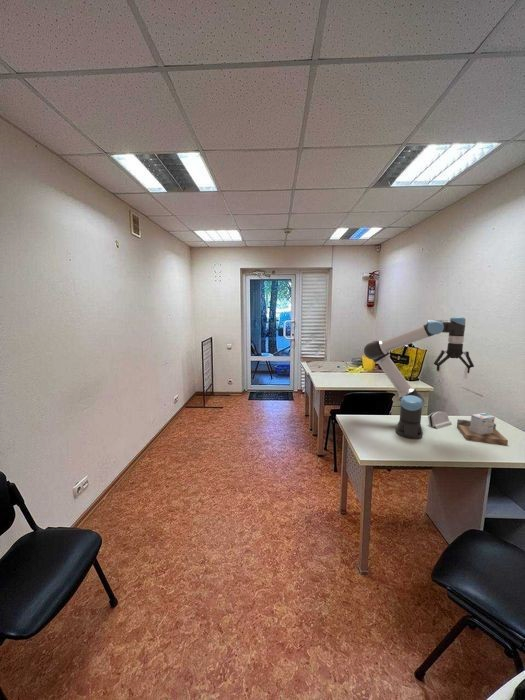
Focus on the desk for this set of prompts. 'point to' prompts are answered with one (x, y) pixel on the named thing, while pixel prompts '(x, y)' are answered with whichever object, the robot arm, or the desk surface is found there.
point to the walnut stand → (488, 438)
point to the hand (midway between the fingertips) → (451, 377)
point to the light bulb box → (482, 423)
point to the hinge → (439, 420)
